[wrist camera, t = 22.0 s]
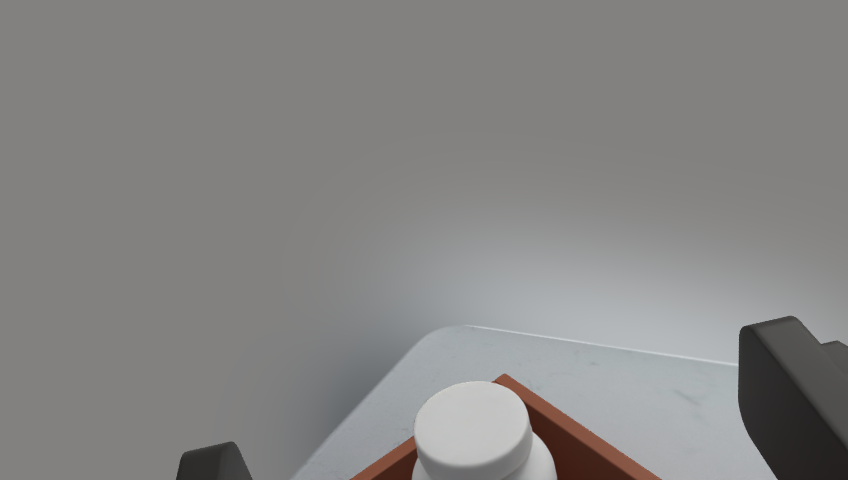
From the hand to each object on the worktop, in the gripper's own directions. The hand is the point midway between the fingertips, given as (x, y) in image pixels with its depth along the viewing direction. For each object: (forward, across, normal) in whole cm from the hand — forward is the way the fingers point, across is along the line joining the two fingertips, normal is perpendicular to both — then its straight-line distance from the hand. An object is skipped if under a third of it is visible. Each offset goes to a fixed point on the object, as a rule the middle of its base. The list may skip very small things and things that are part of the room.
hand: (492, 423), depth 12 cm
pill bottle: (+14, 0, +24) cm, 28 cm away
